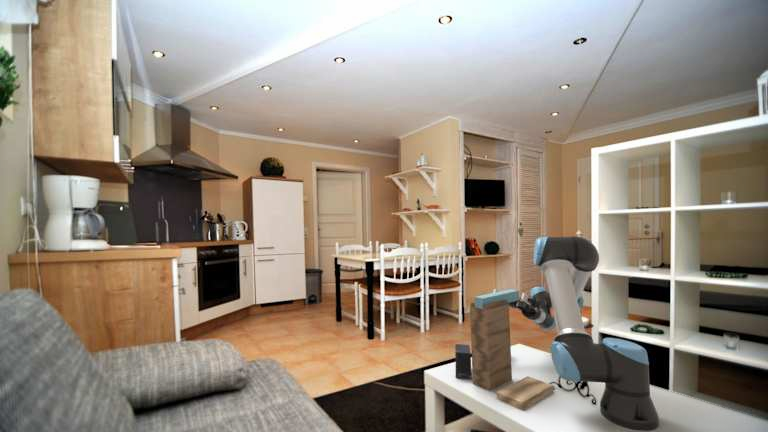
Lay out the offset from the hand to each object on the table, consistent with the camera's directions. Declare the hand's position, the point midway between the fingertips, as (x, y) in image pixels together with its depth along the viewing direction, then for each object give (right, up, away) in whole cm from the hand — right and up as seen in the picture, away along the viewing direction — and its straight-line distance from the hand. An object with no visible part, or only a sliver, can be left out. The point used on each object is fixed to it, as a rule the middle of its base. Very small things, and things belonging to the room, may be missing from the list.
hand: (507, 293), depth 144 cm
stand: (-9, -33, -9) cm, 35 cm away
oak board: (-1, -32, -21) cm, 38 cm away
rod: (-6, -3, -5) cm, 8 cm away
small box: (-19, -34, 0) cm, 39 cm away
